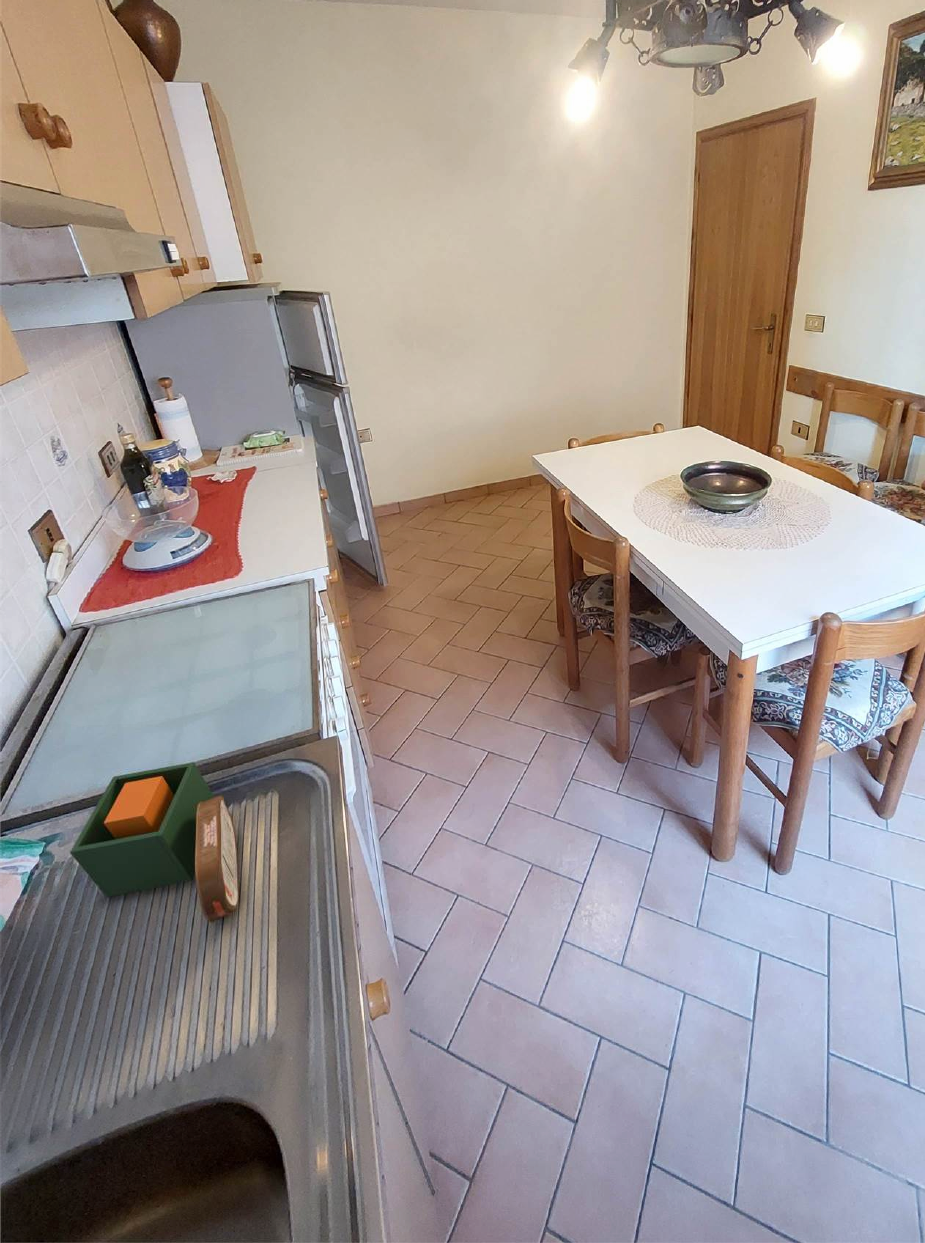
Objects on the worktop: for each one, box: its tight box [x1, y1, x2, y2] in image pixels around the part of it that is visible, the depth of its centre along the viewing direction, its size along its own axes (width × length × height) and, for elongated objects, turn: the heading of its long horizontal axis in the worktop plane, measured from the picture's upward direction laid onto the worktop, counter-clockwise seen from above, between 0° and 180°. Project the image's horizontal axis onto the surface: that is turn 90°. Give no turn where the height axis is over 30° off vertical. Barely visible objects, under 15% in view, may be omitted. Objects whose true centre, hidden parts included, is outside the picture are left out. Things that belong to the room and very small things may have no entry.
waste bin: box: [69, 761, 215, 898], centre depth 75 cm, size 10×10×10 cm
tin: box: [194, 795, 239, 924], centre depth 71 cm, size 15×3×8 cm, turn 27°
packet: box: [104, 776, 174, 839], centre depth 75 cm, size 4×6×10 cm
